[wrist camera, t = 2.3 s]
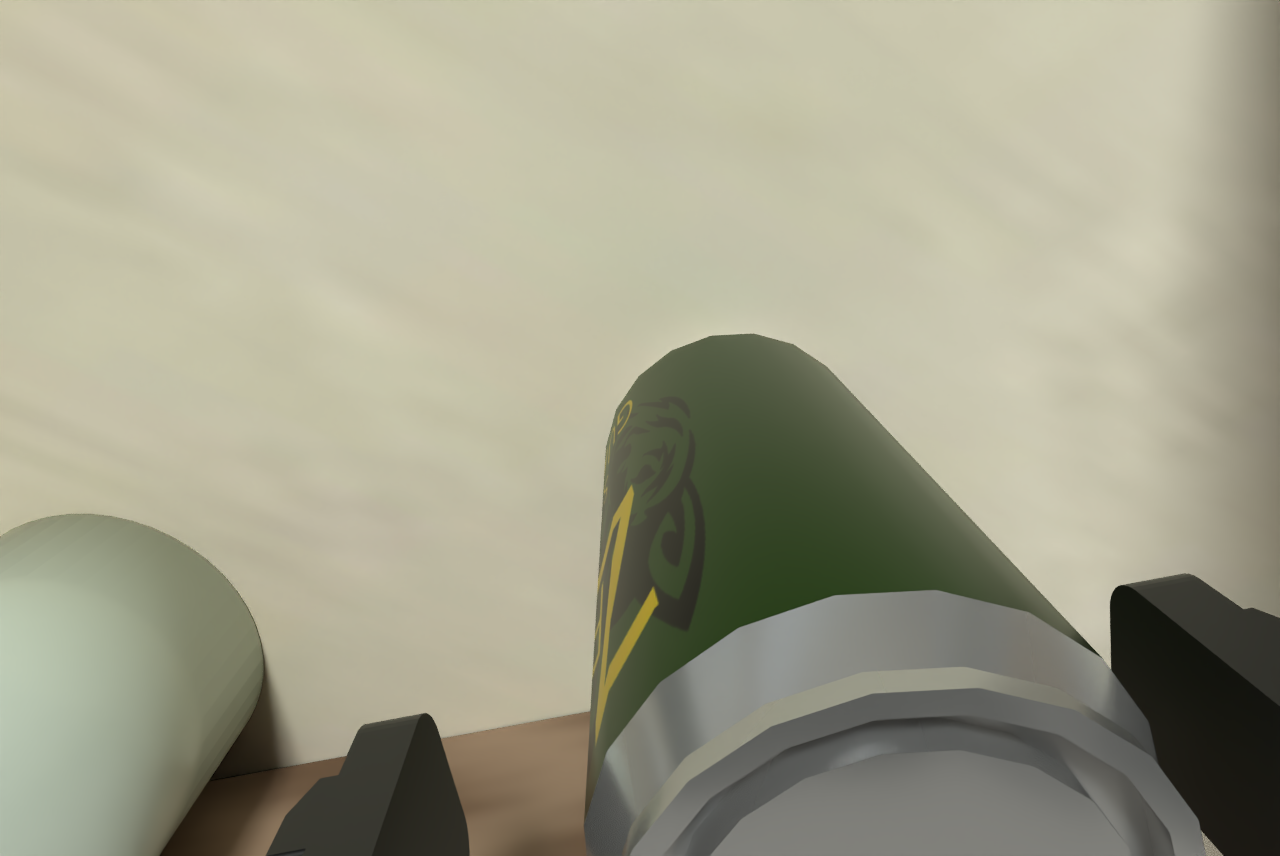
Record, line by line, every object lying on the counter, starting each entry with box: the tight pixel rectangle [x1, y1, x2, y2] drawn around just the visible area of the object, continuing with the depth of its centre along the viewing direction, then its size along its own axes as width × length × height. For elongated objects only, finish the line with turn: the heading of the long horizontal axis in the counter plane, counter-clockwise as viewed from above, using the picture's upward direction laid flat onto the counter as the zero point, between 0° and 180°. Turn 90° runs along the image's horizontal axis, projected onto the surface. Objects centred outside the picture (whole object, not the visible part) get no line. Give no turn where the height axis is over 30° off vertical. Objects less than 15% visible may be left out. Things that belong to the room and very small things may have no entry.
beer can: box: [584, 334, 1206, 856], centre depth 12 cm, size 5×5×12 cm
